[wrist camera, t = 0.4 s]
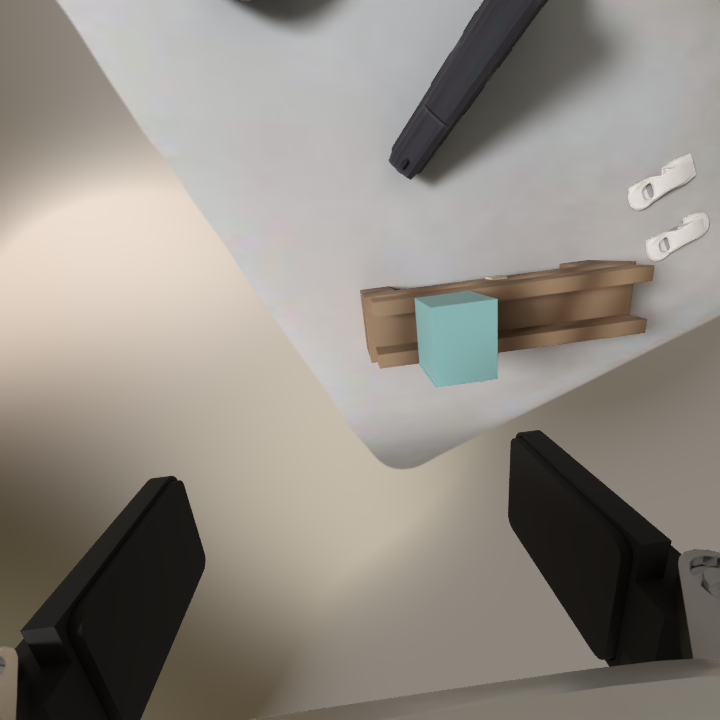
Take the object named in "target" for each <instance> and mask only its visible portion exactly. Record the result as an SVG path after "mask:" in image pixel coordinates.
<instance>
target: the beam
mask: <svg viewBox="0 0 720 720" xmlns="http://www.w3.org/2000/svg"><path fill="white" fill-rule="evenodd" d="M653 272H654V266H653V265H636V262H634V261H597V260H586V261H579V262H571V263H563V264H560V269H554V270H547V271H539V272H531V273H524V274H516V275H509V276H499V275H497V276H490V277H485V279H478V280H471V281H463V282H456V283H448V284H440V285H433V286H425V287H418V288H410V289H403V290H393V289H392V288H390V287H381V288H374V289H366V290H360V293H361V301H362V309H363V317H364V325H365V334H366V342H367V348H368V351H369V355H370V358H371V362H372V363H375V362H378V364H379V367H380V369H381V368H388V367H395V366H403V365H410V364H417V363H419V353H418V339H417V325H416V312H415V298H419V297H426V296H434V295H442V294H449V293H457V292H464V291H472V292H475V293H479V294H482V295H486V296H489V297H493V298H496V299H498V353H499V352H506V351H514V350H521V349H528V348H536V347H543V346H550V345H558V344H565V343H573V342H580V341H587V340H595V339H602V338H610V337H617V336H624V335H632V334H639V333H645V329H646V322H647V319H645V318H640V317H635V316H631V315H629V314H630V306H631V298H632V290H633V283H638V282H646V281H652V279H653Z"/></svg>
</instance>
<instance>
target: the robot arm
mask: <svg viewBox="0 0 720 720" xmlns="http://www.w3.org/2000/svg"><path fill="white" fill-rule="evenodd" d="M508 517H509V522H510V525H511V527H512V529H513V530H514V532H515V534H516V535H517V537H518V538H519V540H520V541H521V543H522V544H523V546H524V547H525V549H526V550H527V552H528V554H529V555H530V557H531V558H532V559H533V561H534V563H535V564H536V566H537V567H538V569H539V570H540V572H541V573H542V575H543V577H544V578H545V580H546V581H547V583H548V584H549V586H550V587H551V589H552V590H553V592H554V593H555V595H556V597H557V598H558V600H559V601H560V603H561V604H562V606H563V607H564V609H565V610H566V612H567V613H568V615H569V616H570V618H571V620H572V621H573V623H574V624H575V626H576V627H577V629H578V630H579V632H580V633H581V635H582V636H583V638H584V639H585V641H586V643H587V644H588V645H589V647H590V649H591V650H592V652H593V653H594V654H595V655H596V656H597V657H598V658H599V659H601V660H604V659H605V661H606V662H607V664H608V665H609V667H604V668H596V669H588V670H580V671H572V672H565V673H558V674H552V675H544V676H537V677H530V678H524V679H516V680H510V681H503V682H496V683H489V684H482V685H475V686H468V687H461V688H455V689H447V690H441V691H434V692H427V693H421V694H414V695H408V696H401V697H394V698H387V699H381V700H374V701H367V702H361V703H355V704H348V705H341V706H334V707H328V708H322V709H315V710H308V711H302V712H295V713H289V714H283V715H275V716H269V717H263V718H257V719H251V720H720V553H719V552H715V551H710V550H696V549H694V550H690V551H686V552H684V553H683V554H681V553H679V552H678V551H677V550H676V549H674V548H673V547H672V546H671V540H670V539H669V538H667V537H666V536H665V535H664V534H663V533H662V532H660V531H659V530H658V529H657V528H656V527H654V526H653V525H652V524H651V523H649V522H648V521H647V520H646V519H645V518H644V517H643V516H641V515H640V514H639V513H638V512H637V511H635V510H634V509H633V508H632V507H631V506H629V505H628V504H627V503H626V502H625V501H623V500H622V499H621V498H620V497H619V496H618V495H616V494H615V493H614V492H613V491H611V490H610V489H609V488H608V487H607V486H606V485H605V484H603V483H602V482H601V481H599V479H597V478H596V477H595V476H594V475H593V474H591V473H590V472H589V471H588V470H587V469H586V468H584V467H583V466H582V465H581V464H580V463H578V462H577V461H576V460H575V459H574V458H572V457H571V456H570V455H569V454H568V453H566V452H565V451H564V450H563V449H562V448H561V447H559V446H558V445H557V444H556V443H555V442H553V441H552V440H551V439H550V438H549V437H547V436H546V435H545V434H544V433H543V432H541V431H540V430H536V431H528V432H520V433H518V434H517V435H516V438H513V439H512V440H511V450H510V478H509V507H508ZM204 568H205V554H204V550H203V547H202V543H201V540H200V537H199V533H198V530H197V527H196V523H195V520H194V517H193V513H192V510H191V507H190V504H189V500H188V497H187V493H186V490H185V487H184V484H183V482H182V481H180V480H179V481H178V480H177V479H176V477H174V476H168V477H160V478H152V479H150V480H149V481H147V483H146V484H145V485H144V486H143V487H142V488H141V490H140V491H139V492H138V493H137V494H136V495H135V497H134V498H133V499H132V500H131V501H130V503H129V504H128V505H127V506H126V507H125V508H124V510H123V511H122V512H121V513H120V514H119V515H118V517H117V518H116V519H115V520H114V521H113V523H112V524H111V525H110V526H109V527H108V528H107V530H106V531H105V532H104V533H103V534H102V536H101V537H100V538H99V539H98V540H97V541H96V543H95V544H94V545H93V546H92V548H90V550H89V551H88V552H87V553H86V554H85V556H84V557H83V558H82V559H81V560H80V561H79V563H78V564H77V565H76V566H75V567H74V568H73V570H72V571H71V572H70V573H69V574H68V576H67V577H66V578H65V579H64V580H63V581H62V583H61V584H60V585H59V586H58V587H57V589H56V590H55V591H54V592H53V593H52V594H51V596H50V597H49V598H48V599H47V600H46V601H45V603H44V604H43V605H42V606H41V607H40V609H39V610H38V611H37V612H36V613H35V615H34V616H33V617H32V618H31V619H30V620H29V622H28V623H27V624H26V625H25V626H24V627H23V629H22V630H21V631H20V632H21V633H22V635H23V637H24V639H23V640H22V641H21V642H20V644H19V645H18V646H17V647H16V648H15V650H14V649H12V648H10V647H0V720H140V719H141V717H142V714H143V712H144V710H145V707H146V705H147V703H148V700H149V698H150V696H151V693H152V691H153V688H154V686H155V684H156V681H157V679H158V677H159V674H160V672H161V670H162V667H163V665H164V663H165V660H166V658H167V655H168V653H169V651H170V649H171V646H172V644H173V641H174V639H175V637H176V635H177V632H178V630H179V627H180V625H181V623H182V620H183V618H184V616H185V613H186V611H187V609H188V606H189V604H190V602H191V599H192V597H193V595H194V592H195V590H196V588H197V585H198V583H199V580H200V578H201V576H202V573H203V571H204Z"/></svg>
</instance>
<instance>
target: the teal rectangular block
mask: <svg viewBox="0 0 720 720" xmlns="http://www.w3.org/2000/svg"><path fill="white" fill-rule="evenodd" d="M415 312H416V325H417V339H418V353H419V365H420V366H421V368H422V369H423V371H424V372H425V373H426V375H427V376H428V378H429V379H430V381H431V382H432V383H433V385H434V386H435V387H442V386H449V385H456V384H464V383H471V382H478V381H486V380H493V379H497V360H498V299H496V298H493V297H489V296H486V295H482V294H479V293H475V292H472V291H464V292H457V293H449V294H442V295H434V296H426V297H419V298H415Z"/></svg>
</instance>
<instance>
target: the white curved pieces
mask: <svg viewBox="0 0 720 720" xmlns="http://www.w3.org/2000/svg"><path fill="white" fill-rule="evenodd" d="M661 170H662V175H660V176H654V177H648V178H646V179H644V180H642V181H639V182H637V183H636V184H635V185H632V186H631V187H630V188H629V190H628V191H629V194H628V200H629V203H630V206H631V207H632V208H633V209H634V210H635V211H640V210H642V209H645V208H646V207H648V206H649V205H650V204H651V203H653V202H654V201H656V200H657V199H659V198H660V197H661V196H662V195H664V194H665V193H666V192H668V191H671V190H673V189H674V188H677V187H680V186H682V185H684V184H686V183H687V182H688V181H690V180H691V179H692V178H693V177H694V176H695V175H696V173H695V168H694V164H693V160H692V157H691V155H690V154H688V155H685V156H682V157H678V158H676V159H675V160H673V161H671V162H669V163H668V164H667V165H666V166H664V167H663V168H662V169H661ZM647 184H651V186H652V189H653V192H654V196H653V197H652V198H650V196H649V195H648V193H647V190H646V185H647ZM682 221H683V223H682V224H680V225H678V230H677V231H671V232H663V233H660V234H658V235H655V236H653V238H650V239H648V240H647V241H646V252H647V255H648V257H649V259H650V260H651V261H652V262H657V261H660V260H662V259H664V258H665V257H666V256H668V255H669V254H670V253H672V252H674V251H675V250H677V249H678V248H680V247H681V246H683V245H685V244H686V243H688V242H690V241H692V240H695V239H698V238H700V237H701V236H702V235H703V234H704V233H705V232H706V231H707V230H708V228H709V219H708V217H707V215H706V214H705V213H696V212H693V213H691V214H690V215H689V216H686V217H685V218H684V219H683V220H682ZM675 227H677V226H675ZM673 228H674V227H673ZM670 229H671V228H670ZM664 238H667V239H668V242H669V246H670V249H669V250H668V251H667V248H666V245H665V242H664ZM659 243H660V247H661V248H662V250H661V249H660V247H659Z"/></svg>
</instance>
